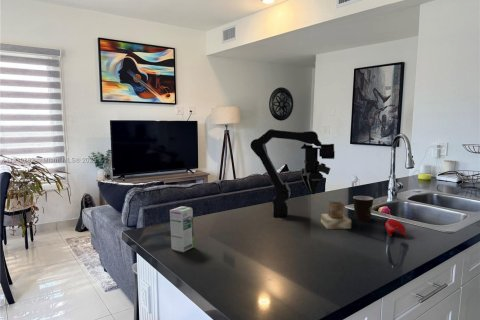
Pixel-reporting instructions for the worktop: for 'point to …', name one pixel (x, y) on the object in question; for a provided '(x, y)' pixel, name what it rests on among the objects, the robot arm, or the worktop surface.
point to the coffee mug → (363, 208)
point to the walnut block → (336, 209)
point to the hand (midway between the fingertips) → (310, 192)
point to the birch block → (335, 222)
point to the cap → (394, 227)
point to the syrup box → (182, 228)
